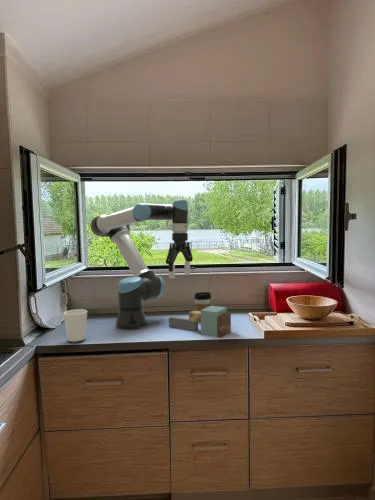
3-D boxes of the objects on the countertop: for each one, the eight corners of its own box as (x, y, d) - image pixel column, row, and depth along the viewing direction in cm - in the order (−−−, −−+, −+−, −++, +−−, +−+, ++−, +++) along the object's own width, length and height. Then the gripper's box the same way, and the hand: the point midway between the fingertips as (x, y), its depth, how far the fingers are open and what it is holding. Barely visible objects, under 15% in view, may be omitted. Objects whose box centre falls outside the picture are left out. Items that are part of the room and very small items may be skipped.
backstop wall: (217, 337, 149) (216, 316, 148) (226, 331, 157) (226, 311, 157) (221, 337, 148) (221, 317, 147) (230, 331, 156) (230, 312, 156)
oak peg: (189, 320, 160) (188, 312, 159) (193, 318, 163) (193, 310, 163) (215, 325, 152) (215, 316, 152) (219, 322, 156) (219, 314, 155)
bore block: (201, 334, 153) (200, 310, 152) (211, 328, 162) (211, 305, 161) (217, 337, 149) (216, 312, 148) (226, 331, 157) (226, 307, 157)
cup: (91, 341, 147) (89, 312, 146) (67, 346, 142) (65, 315, 141) (85, 335, 156) (84, 307, 155) (62, 339, 151) (61, 311, 150)
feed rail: (169, 326, 167) (168, 317, 167) (171, 325, 169) (171, 316, 169) (195, 330, 159) (195, 321, 159) (198, 329, 161) (198, 320, 161)
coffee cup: (210, 324, 168) (209, 294, 167) (193, 324, 170) (192, 294, 169) (212, 320, 176) (212, 291, 175) (196, 319, 178) (195, 291, 177)
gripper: (171, 233, 152) (171, 280, 154) (199, 231, 173) (199, 273, 175) (158, 233, 156) (158, 279, 158) (187, 231, 177) (186, 272, 179)
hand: (179, 276), depth 166 cm, fingers open, 13 cm apart
